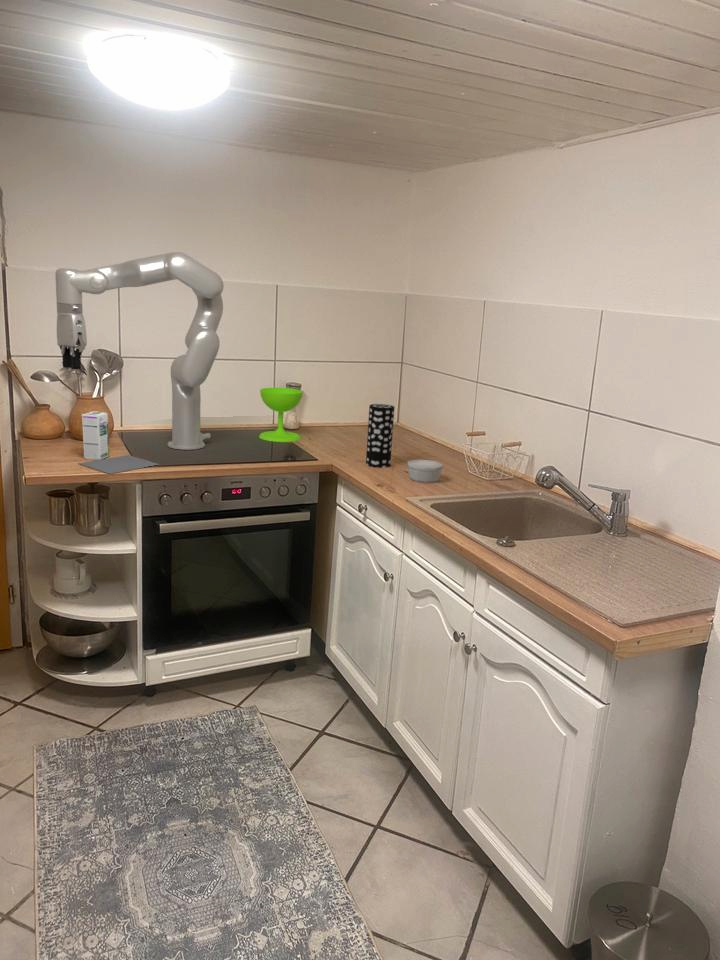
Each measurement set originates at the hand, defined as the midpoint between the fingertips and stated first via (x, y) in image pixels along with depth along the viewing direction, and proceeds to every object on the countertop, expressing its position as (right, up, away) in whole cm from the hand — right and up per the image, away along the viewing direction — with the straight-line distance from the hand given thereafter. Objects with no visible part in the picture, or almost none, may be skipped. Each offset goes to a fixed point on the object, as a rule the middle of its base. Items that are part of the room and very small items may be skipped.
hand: (71, 367), depth 239 cm
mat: (+17, -31, -7) cm, 36 cm away
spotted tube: (+98, -31, +14) cm, 104 cm away
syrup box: (+8, -29, 0) cm, 30 cm away
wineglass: (+61, -20, +48) cm, 80 cm away
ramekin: (+112, -36, -2) cm, 118 cm away
